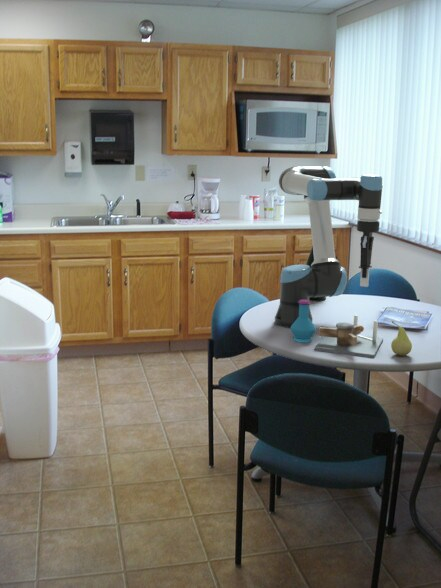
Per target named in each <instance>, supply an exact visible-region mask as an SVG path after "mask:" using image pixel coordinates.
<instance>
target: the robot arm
mask: <svg viewBox="0 0 441 588" xmlns="http://www.w3.org/2000/svg"><path fill="white" fill-rule="evenodd" d="M278 185H279V188H280V189H281V190H282V191H283V192H284V193H285V194H287V195H293V196H294V195H295V196H303V199H304V202H305V203H307V204H308V211H309V223H310V224H309V225H310V233H311V241H312V242H311V243H312V244H313V254H314V262H313V263H312V264H311V268H310V266H308V265H306V264H294V265H293V264H292V265H288V266H286V267H284V268H282V270H281V272H280V273H281V274H280V278H279V279H280V280H279V283H280V288H279V305H278V308H277V310H276V313H275V317H274V323H275V324H276V326H277V325H278V326H279V327H282V328H290V329H291V326H292V324H293V323H294V322H295V321H296V320H297V318H298V317H299V303H298V301H300V300H309V298H310V297H326V298H327V297H329V298H331V297H337V296H340V295H342V294H343V293H344V292H345V290H346V287H347V282H348V274H347V271H346V268H345V267H343V266H341V263H340V261H339V260H338V259H337V258H336V252H335V251H336V250H335V243H334V232H333V224H332V215H331V214H332V213H331V207H330V206H331V204H330V201H358V206H357V207H358V208H357V219H358V220H357V221H356V222H357V225H356V230H357V232H360V233H363V234H362V236H361V237H360V244H359V245H360V261H359V263H360V265H359V266H358V269H360V277H359V278H360V279H359V286H360V287H365V288H368V287H369V282H370V281H369V280H370V269H371V268H373V266H372V265H371V264H372V254H373V248H374V247H373V245H374V240H375V236H373V234H374V233H378V232H379V230H380V221H379V220H380V219H381V218H380V217H381V214H382V213H383V211H382V210H381V205H382V194H383V193H382V192H383V177H382V176H381V175H379V174H362V175H360V178H359V177H350V178H337V176H336V174H335V172H334V170H333V169H332V168H331V167H329V166H322V165H318V166H317V165H316V166H312V165H311V166H309V165H308V166H305V165H304V166H303V165H302V166H301V165H299V166H298V165H297V166H291V167H288V168H286V169H284V170H283V171H282V172H281V174H280V175H279V179H278ZM309 301H310V300H309ZM308 317H309V319H310V320H311V322H312V323H313V315H312V312H311V309H310V307H309V316H308Z"/></svg>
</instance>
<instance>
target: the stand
mask: <svg viewBox="0 0 441 588" xmlns="http://www.w3.org/2000/svg"><path fill="white" fill-rule="evenodd" d="M358 319H359V315H358V314H354V315H353V325H354V326H356V325H358V321H359V320H358ZM378 323H379V322H378V320H373V327H372V336H368V335H361V334H358V335H355V336H356V337H357V345H354V346H353V345H351V344H350V345H339V344H337V338H335V337H324V336H322V338H321V339H320V340H319V341H318V343H317V344H316V345H315V346H314V347H313V348H314V351H318V350H319V351H320V352H326V353H327V352H328V353H333V354H340V355H341V354H343V355H350V356H358V357H366V358H367V357H368V358H372V359H374V358H375V357H376V354H377V353H378V350H379V349H380V347H381V345H382V343H383V341H384V338H383V337H377V335H378V325H379V324H378ZM319 351H318V352H319Z"/></svg>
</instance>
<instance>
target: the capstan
mask: <svg viewBox="0 0 441 588" xmlns="http://www.w3.org/2000/svg"><path fill="white" fill-rule="evenodd" d="M318 328H319V330H318V336H319V337H323V336H324V337H335V338H337V344H339V345H350V344H351V345H353V346H354V345H357V337H356V336H355V335H361V334H362V332H364V330H365V328H364V326H363V325H360V324H357V325H356V326H354V323H351V322H338V323H336V324H335V328H334V327H323V326H320V327H318Z"/></svg>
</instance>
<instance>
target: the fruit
mask: <svg viewBox="0 0 441 588" xmlns="http://www.w3.org/2000/svg"><path fill="white" fill-rule="evenodd" d="M391 324H393V325H395V326H397V328H398V333H397V335H396V337H395V338H393V339H392V341H391V343H390V345H391V350H392V352H393V354H395V355H397V356H401V357H403V356H408V355H409V354H410V353H411V351H412V349H413V348H412V347H413V345H412V342H411V340H410V338H409V336H408V334H407V332H406V330H405V328H404V327H402V326H400V325H398V324H397V323H396V322H394V321H393V320H392V321H391Z"/></svg>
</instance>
